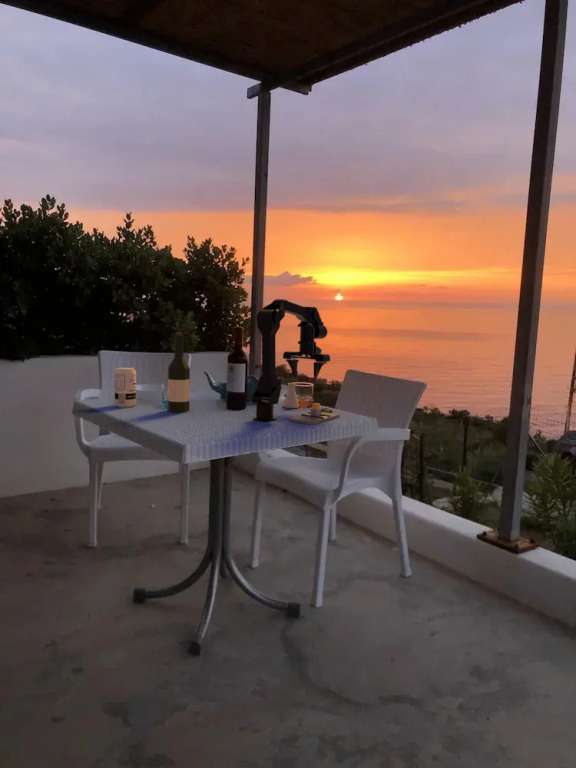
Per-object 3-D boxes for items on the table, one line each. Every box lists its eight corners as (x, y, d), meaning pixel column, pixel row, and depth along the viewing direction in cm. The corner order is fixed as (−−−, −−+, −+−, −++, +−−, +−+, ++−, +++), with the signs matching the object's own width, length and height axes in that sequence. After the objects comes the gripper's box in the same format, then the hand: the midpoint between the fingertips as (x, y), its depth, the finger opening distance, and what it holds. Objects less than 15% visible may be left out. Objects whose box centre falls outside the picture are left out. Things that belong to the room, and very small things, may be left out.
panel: (312, 424, 210) (312, 420, 210) (288, 421, 215) (289, 416, 215) (339, 416, 227) (339, 412, 226) (316, 413, 232) (317, 409, 232)
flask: (292, 409, 241) (293, 384, 239) (278, 407, 245) (279, 383, 244) (303, 407, 246) (303, 383, 245) (289, 405, 251) (289, 381, 249)
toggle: (316, 416, 219) (316, 404, 219) (310, 415, 221) (310, 403, 220) (320, 415, 222) (321, 403, 221) (314, 414, 223) (315, 402, 223)
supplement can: (114, 404, 239) (114, 367, 237) (135, 404, 241) (135, 367, 239) (114, 407, 231) (114, 369, 229) (136, 407, 234) (136, 369, 232)
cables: (321, 415, 229) (321, 409, 229) (312, 413, 231) (312, 408, 231) (332, 412, 237) (333, 406, 237) (324, 410, 239) (324, 405, 239)
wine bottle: (187, 413, 224) (188, 333, 221) (165, 412, 225) (165, 333, 221) (191, 409, 233) (192, 332, 229) (170, 408, 233) (170, 332, 229)
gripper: (337, 340, 235) (335, 379, 237) (297, 337, 245) (296, 375, 247) (324, 340, 226) (321, 381, 228) (283, 337, 236) (281, 376, 237)
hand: (305, 378), depth 235 cm, fingers open, 9 cm apart
